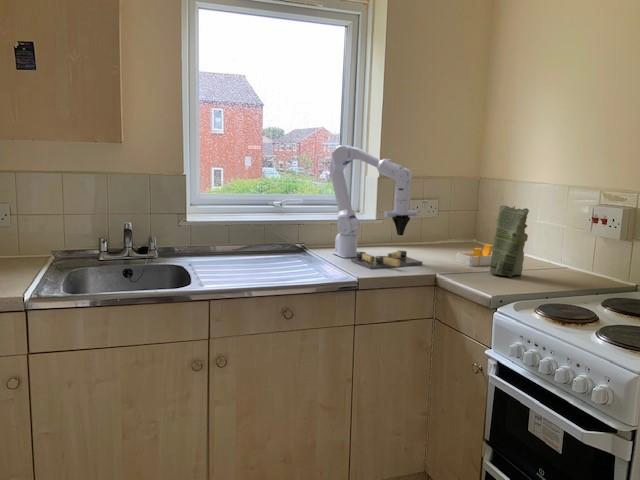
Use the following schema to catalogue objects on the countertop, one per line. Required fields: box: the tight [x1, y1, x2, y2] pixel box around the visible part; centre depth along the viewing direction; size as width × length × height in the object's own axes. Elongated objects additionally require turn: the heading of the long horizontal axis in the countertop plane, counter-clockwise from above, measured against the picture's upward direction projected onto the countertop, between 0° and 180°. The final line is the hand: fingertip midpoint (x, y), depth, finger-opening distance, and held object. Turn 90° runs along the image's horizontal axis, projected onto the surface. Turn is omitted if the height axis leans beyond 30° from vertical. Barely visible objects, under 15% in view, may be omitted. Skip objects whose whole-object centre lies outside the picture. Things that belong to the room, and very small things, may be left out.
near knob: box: [375, 255, 400, 266], centre depth 210 cm, size 10×4×2 cm, turn 46°
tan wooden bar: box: [355, 251, 375, 262], centre depth 216 cm, size 10×4×2 cm, turn 26°
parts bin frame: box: [455, 250, 493, 267], centre depth 225 cm, size 9×17×4 cm, turn 116°
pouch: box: [489, 205, 530, 278], centre depth 202 cm, size 11×12×25 cm
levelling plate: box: [351, 255, 423, 270], centre depth 218 cm, size 14×23×2 cm, turn 116°
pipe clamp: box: [473, 243, 493, 267], centre depth 225 cm, size 12×4×6 cm, turn 143°
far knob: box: [387, 250, 408, 259], centre depth 222 cm, size 10×4×2 cm, turn 137°
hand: (400, 235), depth 221 cm, fingers closed
